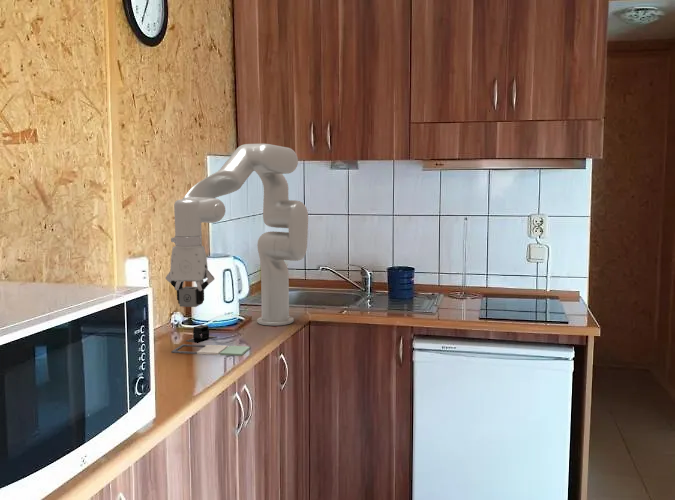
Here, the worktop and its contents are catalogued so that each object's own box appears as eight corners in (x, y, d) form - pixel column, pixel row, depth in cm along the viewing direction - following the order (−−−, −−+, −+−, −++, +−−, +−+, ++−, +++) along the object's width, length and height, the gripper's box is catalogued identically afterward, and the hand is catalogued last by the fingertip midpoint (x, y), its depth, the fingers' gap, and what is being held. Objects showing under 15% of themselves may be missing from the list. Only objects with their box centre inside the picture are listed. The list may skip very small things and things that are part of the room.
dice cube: (195, 307, 201) (195, 290, 201) (179, 306, 202) (178, 289, 202) (202, 303, 206) (201, 287, 206) (186, 303, 207) (186, 286, 207)
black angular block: (195, 346, 212) (195, 331, 211) (178, 343, 215) (178, 328, 215) (223, 337, 222) (222, 323, 222) (206, 335, 226) (205, 321, 225)
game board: (182, 345, 210) (182, 343, 210) (250, 348, 206) (250, 346, 206) (171, 352, 202) (171, 350, 202) (241, 356, 198) (241, 353, 198)
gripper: (155, 242, 200) (158, 304, 202) (211, 243, 196) (213, 306, 199) (166, 240, 207) (169, 299, 209) (221, 240, 204) (222, 301, 206)
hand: (190, 302), depth 204 cm, fingers closed on dice cube, 5 cm apart
